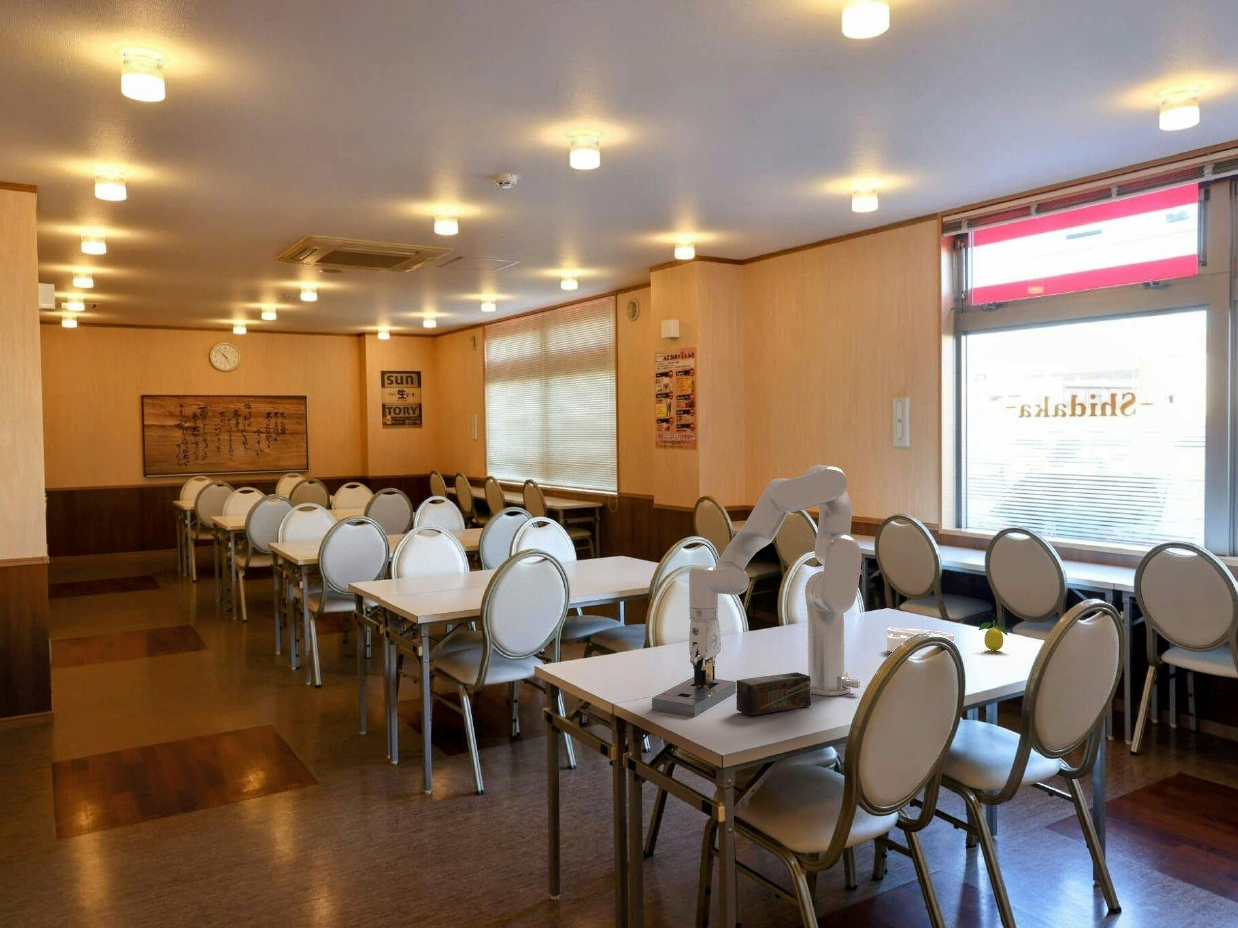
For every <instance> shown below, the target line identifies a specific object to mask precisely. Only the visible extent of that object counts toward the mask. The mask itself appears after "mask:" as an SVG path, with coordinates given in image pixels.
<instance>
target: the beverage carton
mask: <svg viewBox="0 0 1238 928" xmlns="http://www.w3.org/2000/svg"><path fill="white" fill-rule="evenodd" d="M811 696H812V693H811V678H810V676H808V674H807V675H806V674H805V673H801V672H789V673H788V672H787V673H781V674H780V673H779V674H773V675H764V676H755V677H749V678H742V679H737V680H736V710H737V711H738V712H741V713H742V714H744V715H747V716H755V715H760V714H768V713H775V712H781V711H786V710H794V709H799V708H803V707H804V708H805V707H811V705H812V699H811V698H812V697H811Z"/></svg>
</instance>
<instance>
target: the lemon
mask: <svg viewBox="0 0 1238 928" xmlns="http://www.w3.org/2000/svg"><path fill="white" fill-rule="evenodd" d="M992 624H993V626H992V627H991V628H989V629H988V630H986V632H985V634H984V645H985V647H986V648H987V649H989V650H991V651H992V652H993V653H994V652H995V653H996V652H997V651H998V650H1000V649H1002V648H1003V646H1004V636H1003V634H1004V635H1006V636H1009V635H1008V632H1007V630H1006V629H1005V628H1004V627H1003V626H1000V625H995V621H993V622H983V623H982V624H981V625H980V626H979V628H978V631H983V630H985V629H987V628H988V627H990V626H991V625H992Z"/></svg>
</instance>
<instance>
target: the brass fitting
mask: <svg viewBox="0 0 1238 928" xmlns="http://www.w3.org/2000/svg"><path fill="white" fill-rule="evenodd" d="M697 657H700V658H701V656H700V655H698V656H697ZM698 661H700V663H701V660H698ZM704 670H706V685H697V684H696V687H701V688H708V689H710V688H712V687H713V669H712V657H711V658H709V659H705V669H704Z"/></svg>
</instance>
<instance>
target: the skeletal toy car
mask: <svg viewBox="0 0 1238 928" xmlns="http://www.w3.org/2000/svg"><path fill="white" fill-rule="evenodd" d="M924 633H934V634H940V635H943V636H944V637H948V638H949V639H951V640H952V641H954V642H955V636H954V634H952V633H948V632H944V631H939V630H930V629H922V628H900V627H887V636H886V638H887V639H886V640H887V642H886V643H887V644H886V648H887V649H886V650H887V652H888V651H890V652H889V653H891V652H892V651H893V650H894V649H895V648H896V647H898V645H900V644H901V643H902V642H904V641H906V640H907V639H909V640H910V638H913V636H915V635H917V634H924ZM951 640H950V641H951Z"/></svg>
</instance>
